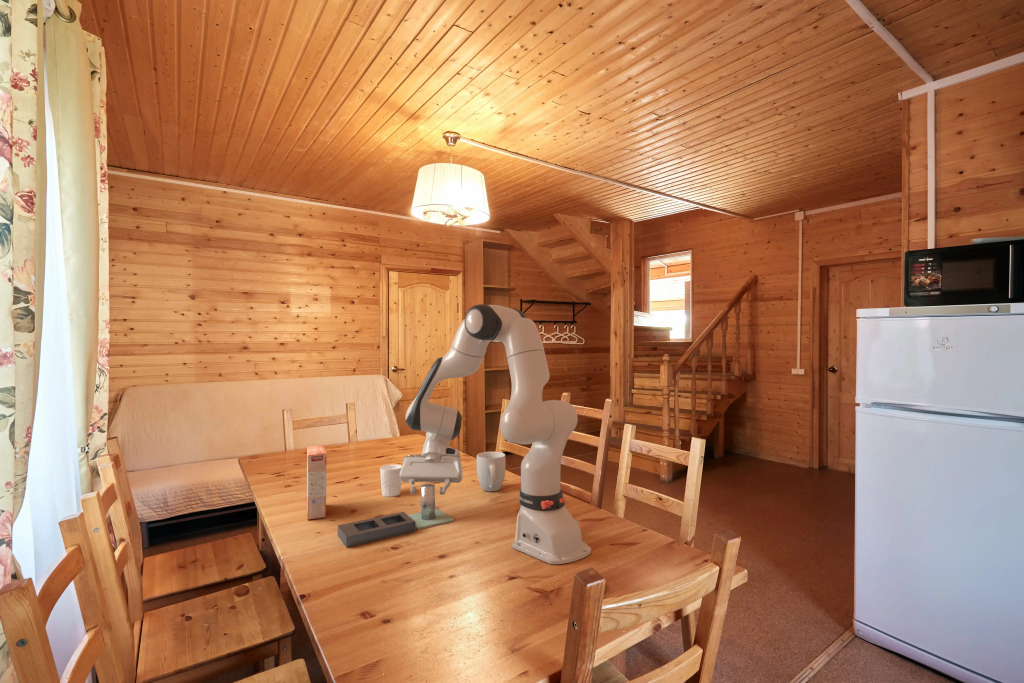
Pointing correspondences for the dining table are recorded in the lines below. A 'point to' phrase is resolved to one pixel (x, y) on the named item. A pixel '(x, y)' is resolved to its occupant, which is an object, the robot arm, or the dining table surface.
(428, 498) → the steel peg
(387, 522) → the grey socket block
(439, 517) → the mat
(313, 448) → the cracker box
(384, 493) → the white cup
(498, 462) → the mug
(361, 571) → the dining table surface
